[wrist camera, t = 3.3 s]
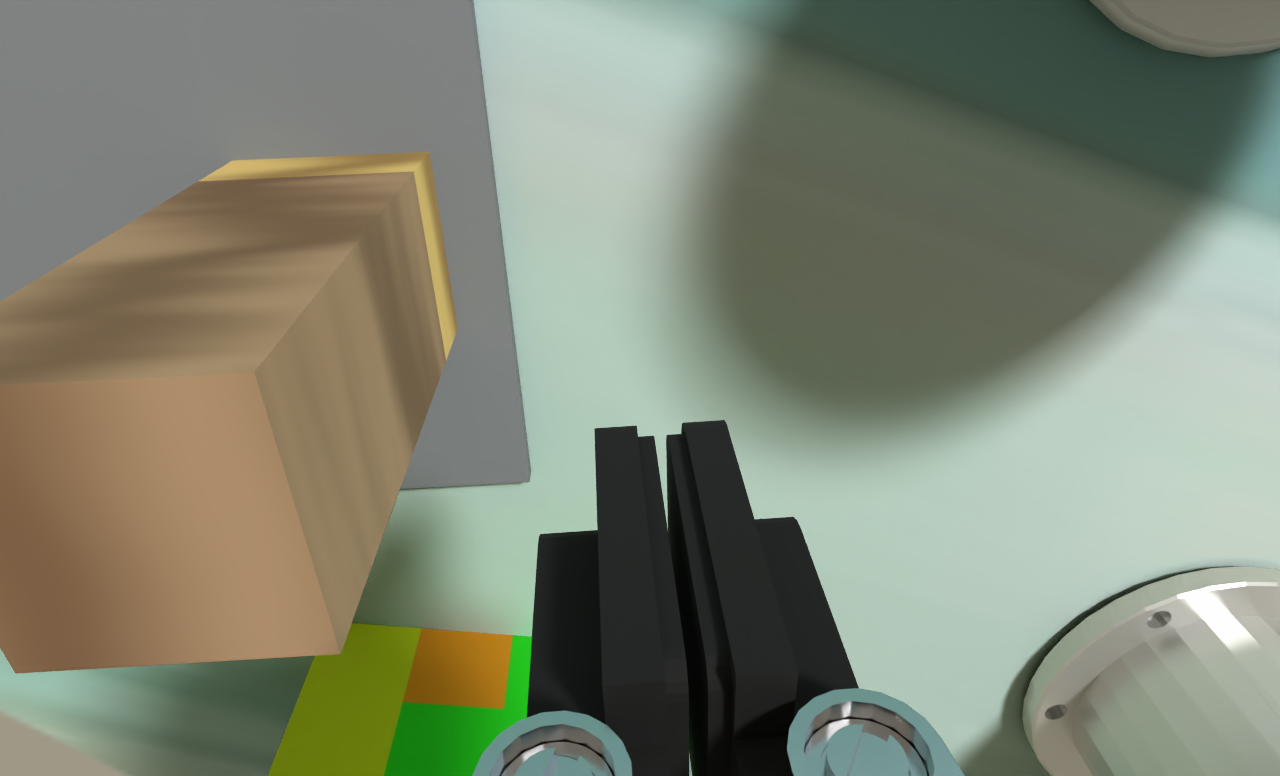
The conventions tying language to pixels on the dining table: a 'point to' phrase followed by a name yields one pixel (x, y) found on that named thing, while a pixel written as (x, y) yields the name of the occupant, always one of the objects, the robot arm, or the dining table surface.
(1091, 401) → the dining table surface
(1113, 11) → the chalice
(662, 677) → the robot arm
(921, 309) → the dining table surface
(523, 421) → the rubber mat
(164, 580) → the walnut block
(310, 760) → the puzzle toy
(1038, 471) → the dining table surface
